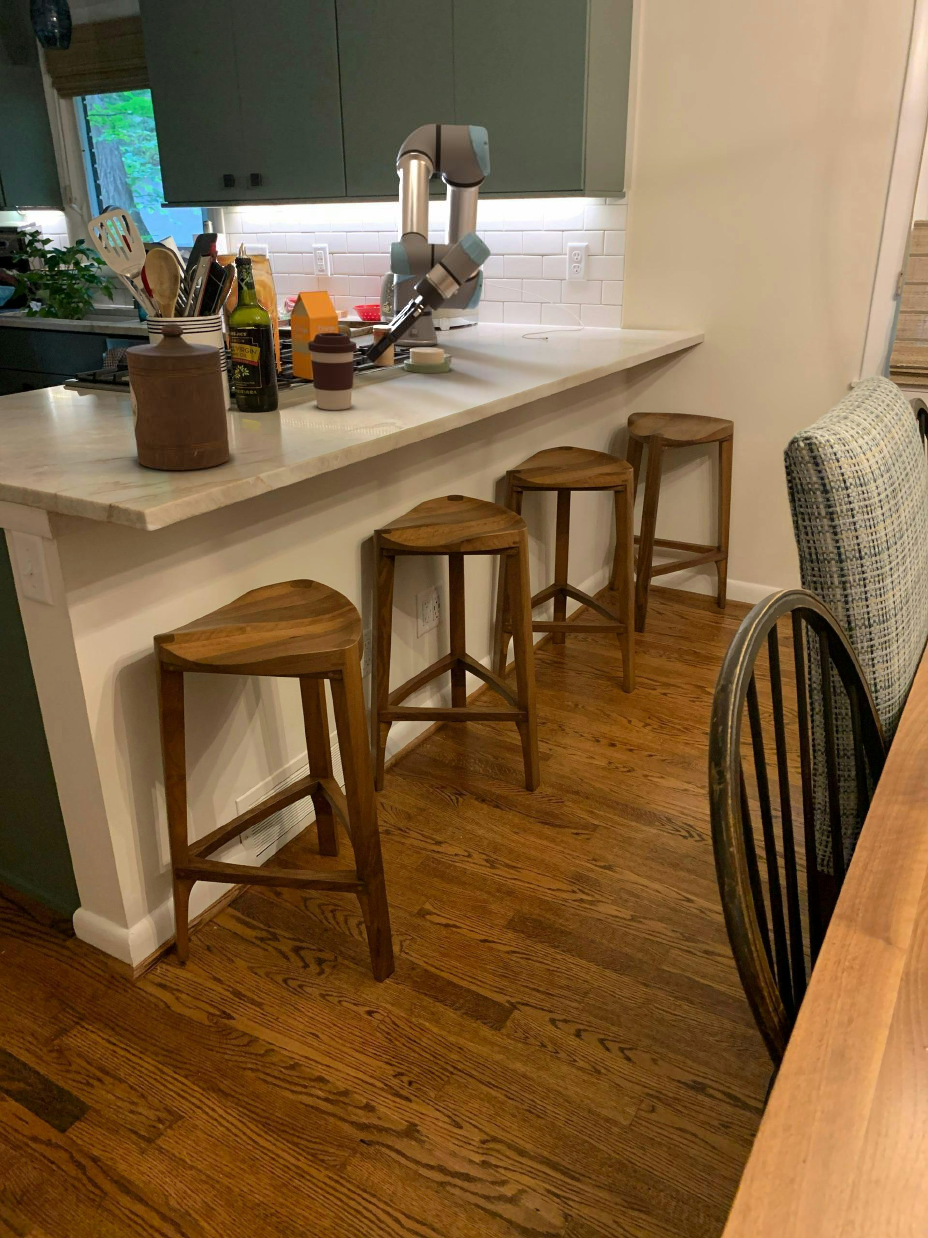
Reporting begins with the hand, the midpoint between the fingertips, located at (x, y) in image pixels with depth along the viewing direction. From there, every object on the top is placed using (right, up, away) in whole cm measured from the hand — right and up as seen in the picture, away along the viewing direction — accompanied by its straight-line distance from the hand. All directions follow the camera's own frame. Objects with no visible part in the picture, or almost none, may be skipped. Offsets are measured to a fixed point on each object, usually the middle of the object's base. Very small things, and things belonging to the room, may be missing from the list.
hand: (368, 356), depth 230 cm
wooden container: (-24, -38, -73) cm, 86 cm away
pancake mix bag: (-29, -4, +2) cm, 29 cm away
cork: (-8, 0, +12) cm, 15 cm away
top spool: (+4, -1, +1) cm, 4 cm away
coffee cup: (-4, -20, -31) cm, 37 cm away
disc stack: (+14, +1, +17) cm, 22 cm away
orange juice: (-14, -4, +3) cm, 14 cm away
